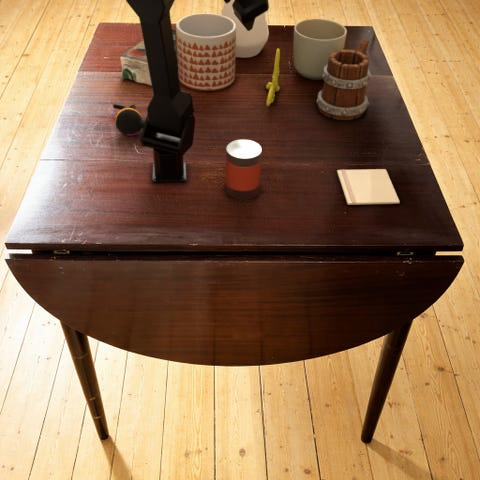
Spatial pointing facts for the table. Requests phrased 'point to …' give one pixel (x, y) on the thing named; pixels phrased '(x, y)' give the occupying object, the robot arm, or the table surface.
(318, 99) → the mug
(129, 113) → the character figurine
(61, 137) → the table surface
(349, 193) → the napkin
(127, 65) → the juice carton
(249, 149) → the can
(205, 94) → the table surface
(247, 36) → the white rounded pot
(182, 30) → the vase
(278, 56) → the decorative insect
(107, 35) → the table surface
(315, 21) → the planter
